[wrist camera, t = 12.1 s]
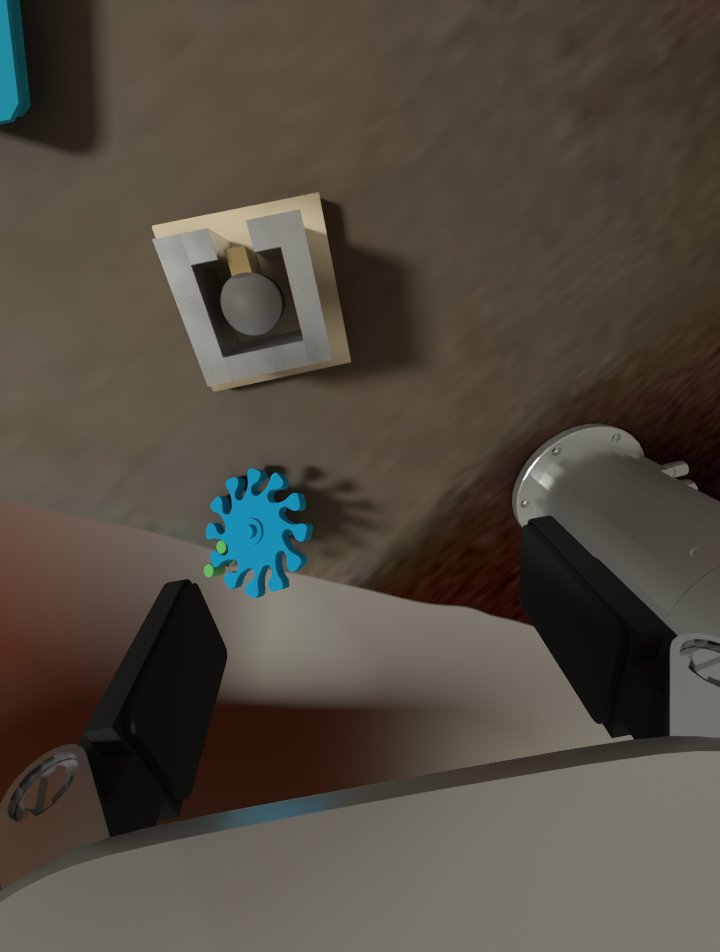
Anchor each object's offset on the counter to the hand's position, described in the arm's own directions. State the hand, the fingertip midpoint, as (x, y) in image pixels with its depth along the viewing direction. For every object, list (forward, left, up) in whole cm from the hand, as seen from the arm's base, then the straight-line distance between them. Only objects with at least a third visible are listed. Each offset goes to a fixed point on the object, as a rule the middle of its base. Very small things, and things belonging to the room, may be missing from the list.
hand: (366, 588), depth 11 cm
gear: (+8, +9, -21) cm, 24 cm away
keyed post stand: (+3, -7, -21) cm, 22 cm away
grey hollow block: (+3, -7, -20) cm, 21 cm away
